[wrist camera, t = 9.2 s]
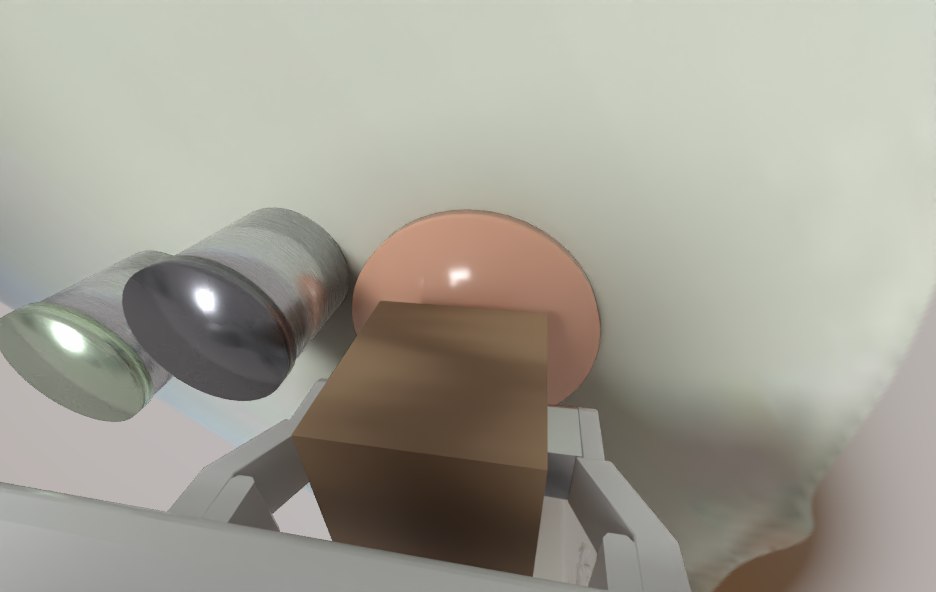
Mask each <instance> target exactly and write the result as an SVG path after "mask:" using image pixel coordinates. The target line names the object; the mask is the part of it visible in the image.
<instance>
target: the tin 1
mask: <svg viewBox="0 0 936 592" xmlns="http://www.w3.org/2000/svg"><path fill="white" fill-rule="evenodd" d="M169 256H172V255H170V254H167V253H163V252H158V251H143V252H139V253H136V254H134V255H132V256H130V257H128V258H126V259H124V260H122V261H120V262H118V263H116V264H114V265H112V266H110V267H108V268H106V269H104V270H102V271H100V272H98V273H96V274H94V275H92V276H90V277H88V278H86V279H84V280H82V281H80V282H78V283H76V284H74V285H72V286H70V287H68V288H66V289H64V290H63V291H61V292H59V293H57V294H55V295H53V296H51V297H49V298H47V299H45V300H43V301H41V302H37V303H31V304H28V305H25V306H23V307H21V308H19V309H17V310H15V311H13V312H11V313H9V314H7V315H5V316H3V317H2V318H0V350H1V352H2V353H3V355H4V357H5V358H6V360H7V361H8V362H9V364H10V365H11V366H12V367H13V368H14V369H15V370H16V371H17V373H19V374H20V375H21V376H22V377H23V378H24V379H25V380H26V381H27V382H28V383H30V384H31V385H32V386H33V387H34V388H36V389H37V390H38V391H40V392H41V393H43V394H44V395H45V396H47V397H48V398H50V399H52V400H53V401H55V402H57V403H58V404H60V405H62V406H64V407H66V408H68V409H70V410H72V411H74V412H77V413H79V414H82V415H84V416H87V417H90V418H94V419H98V420H103V421H111V422H117V421H118V422H119V421H125V420H127V419H130V418H132V417H133V416H134V415H136V414H137V413H138V412H139V411H140V410H141V409H142V408H143V407H144V406H146V405H147V404H148V403H149V402H150V400H151V399H152V397H153V395H154V394H155V393H156V392H157V391H158V390H159V389H160V388H162V387H163V386H164V385H165V384H166V383H167V382H168V381H169V380H171V379H172V378H173V377H174V376H173V375H172V374H170V373H169V372H168V371H166V370H165V369H164V368H163V367H161V366H160V365H159V364H158V363H157V362H156V361H155V360H154V359H153V358H152V357H151V356H150V355H149V354H148V353H147V352H146V351H145V350H144V349H143V347H142V346H141V345H140V344H139V342H138V341H137V339H136V338H135V336H134V335H133V333H132V331H131V329H130V328H129V326H128V323H127V321H126V318H125V315H124V311H123V306H122V295H123V290H124V287H125V285H126V283H127V281H128V280H129V278H130V277H132V276H133V275H134V274H135V273H137V272H138V271H140V270H142V269H143V268H145V267H147V266H149V265H151V264H153V263H154V262H156V261H158V260H160V259H163V258H165V257H169Z"/></svg>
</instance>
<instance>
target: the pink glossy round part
mask: <svg viewBox="0 0 936 592" xmlns="http://www.w3.org/2000/svg"><path fill="white" fill-rule="evenodd" d="M380 301H393V302H406V303H419V304H432V305H445V306H459V307H472V308H485V309H498V310H511V311H524V312H538V313H547V404H553V405H557V404H558V403H560V402H561V401H563V400H564V399H566V398H567V397H568V396H569V395H571V394H572V393H573V392H574V391H575V390H576V389H577V388H578V387H579V386H580V385H581V384H582V382H583V381H584V379H585V378H586V377H587V375H588V374H589V372H590V370H591V368H592V366H593V364H594V362H595V359H596V356H597V352H598V349H599V341H600V321H599V315H598V310H597V305H596V301H595V297H594V292H593V290H592V287H591V285H590V283H589V280H588V278H587V276H586V275H585V273H584V271H583V270H582V268H581V266H580V265H579V264H578V262H577V261H576V260H575V259H574V258H573V256H572V255H571V254H570V253H569V252H568V251H567V250H566V249H565V248H564V247H563V246H562V245H561V244H560V243H558V242H557V241H556V240H555V239H553V238H552V237H551V236H549V235H548V234H546V233H545V232H543V231H542V230H540V229H538V228H536V227H534V226H532V225H530V224H528V223H526V222H524V221H521V220H519V219H516V218H513V217H511V216H508V215H503V214H499V213H495V212H490V211H480V210H451V211H445V212H439V213H434V214H431V215H428V216H425V217H421V218H419V219H417V220H415V221H412V222H410V223H408V224H406V225H404V226H403V227H401V228H400V229H398V230H397V231H395V232H394V233H393V234H392V235H390V236H389V237H388V238H387V239H386V240H385V241H384V242H383V243H382V244H381V245H380V246H379V247H378V249H377V250H376V251H375V252H374V254H373V255H372V256H371V257H370V259H369V260H368V261H367V262H366V264H365V265H364V267H363V269H362V271H361V273H360V274H359V276H358V279H357V282H356V285H355V288H354V293H353V299H352V318H353V325H354V329H355V332H356V336H357V335H358V333H359V332H360V330H361V329H362V327H363V326H364V324H365V323H366V321H367V320H368V318H369V317H370V315H371V314H372V312H373V311H374V309H375V308H376V306H377V305H378V303H379V302H380Z"/></svg>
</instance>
